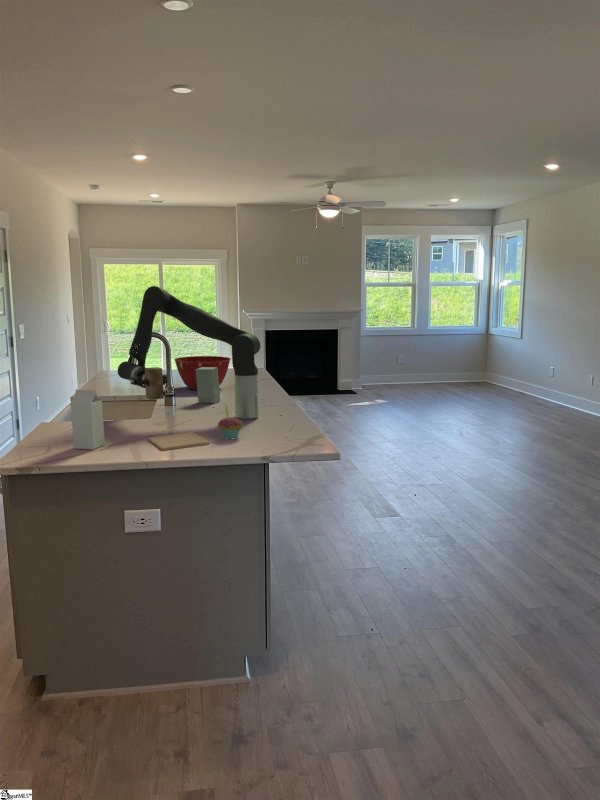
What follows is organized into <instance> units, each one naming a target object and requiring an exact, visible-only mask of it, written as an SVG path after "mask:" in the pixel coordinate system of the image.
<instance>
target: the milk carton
mask: <svg viewBox="0 0 600 800" xmlns="http://www.w3.org/2000/svg"><path fill="white" fill-rule="evenodd" d="M70 414H71V428H72V440H73V441H72V442H73V449H74V450H75V449H76V450H96V449H98V448H100V447H102V446H103V445H105V427H104V413H103V401H102V399H101V398H100V396H99V395H98V394H97V390H96V389H75V393H74V395H73V397H72V400H71V402H70Z"/></svg>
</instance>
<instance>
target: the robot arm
mask: <svg viewBox="0 0 600 800" xmlns="http://www.w3.org/2000/svg"><path fill="white" fill-rule="evenodd" d="M158 312H159V313H162V314H165V315H168V316H170V317H172V318H174V319H176V320H177V321H179V322H180V323H181V324H183V325H184V326H185V327H187V328H188V329H190V330H192V331H193V332H196V333H197V334H199V335H201V336H204V337H206V338H209V339H212V340H217V341H220V342H223V343H226V344H228V345H230V346H231V361H232V362H231V363H232V368H233V371H234V405H235V407H234V409H235V412H234V413H235V418H237V419H239V420H249V419H251V420H252V419H259V417H260V411H259V410H260V407H259V403H260V400H259V396H260V395H259V370H258V369H259V367H258V366H256V363H255V362H256V361H255V355H257V353H259V352H260V350H261V342H260V339H259V337H258V336H256V335H255V334H253V333H250V332H248V331H245V330H243V329H241V328H238V327H235V326H233V325H231V324H229V323H228V322H226V321H224V320H223V319H221V318H219V317H217V316H215V315H214V314H212V313H211V312H209V311H206V310H205V309H202V308H200V307H198V306H195V305H192V304H189V303H186V302H184V301H182V300H180V299H179V298H178V297H176V296H174V295H173V294H171V293H170V292H168V291H167V290H166V289H164V288H161V287H159V286H157V285H152V286H149V287H148V288H147V289H146V290H145V291H144V293H143V297H142V301H141V309H140V313H139V317H138V318H139V319H138V323H137V326H136V330H135V333H134V335H133V339H132V341H131V345H130V347H129V351H128V354H129V356H130V357H131V358H133V359H135V360H136V361H137V364H136V363H134V362H130V361H123V362H121V363H120V364H119V365H118V366H117V375H118V376H119V378H121V379H124V380H127V381H130V385H133V386H137V387H141V388H143V389H146V386H150V381H149V380H147V379H146V378H145V368H147V367H146V360H147V356H148V353H149V350H150V347H151V344H152V339H153V328H154V327H153V325H154V321H155V318H156V315H157V313H158ZM135 344H136V345H137V346H138V347H136V349H135V347H134V345H135ZM139 344H140V345H139ZM136 345H135V346H136ZM137 348H138V349H137ZM132 350H133V351H132ZM136 352H137V353H136ZM167 383H168V375H167V374H165V373H164V374H163V386H165V384H167Z"/></svg>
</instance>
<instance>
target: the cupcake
mask: <svg viewBox="0 0 600 800" xmlns="http://www.w3.org/2000/svg"><path fill="white" fill-rule="evenodd" d="M225 413H226V414H225V415H226V417H224V418H222V419H220V420H219V421H218V423H217V425H218V426H217V427H218V430H220V431H221V433H222V437H223V439H225V438H227V439H226V440H233V439H232V438H236V439H238V438H239V433H240V431H241V429H242V428H243V422H242V419H240V418H236V417H234V416H232V417H230V416H229V410H228V406H225Z"/></svg>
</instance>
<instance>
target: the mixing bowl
mask: <svg viewBox="0 0 600 800" xmlns="http://www.w3.org/2000/svg"><path fill="white" fill-rule="evenodd" d="M173 360H174V362H175V366H176V369H177V371H178V374H179V376H180V378H181V380H182V382H183V384H184V385H185V386H186V387H187V388H189V389H190V390H193V391H194V390H196V391H197V379H196V369H198V368H201V367H218V379H219V387H220V386H221V385H222V383H223V381H224V380H225V378H226V376H227V372H228V370H229V366H230V361H232V358H231V357H227V356H220V355H219V356H215V355H196V356H195V355H193V356H192V355H191V356H182V357H181V356H180V357H176V358H174V359H173Z"/></svg>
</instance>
